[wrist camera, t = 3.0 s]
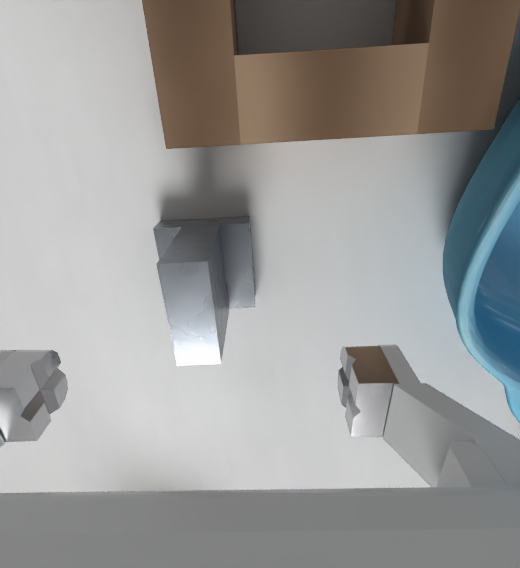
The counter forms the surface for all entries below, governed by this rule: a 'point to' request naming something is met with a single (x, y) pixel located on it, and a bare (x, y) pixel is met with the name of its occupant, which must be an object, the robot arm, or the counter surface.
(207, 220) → the bracket
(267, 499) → the robot arm
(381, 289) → the counter surface
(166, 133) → the block
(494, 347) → the casserole dish
